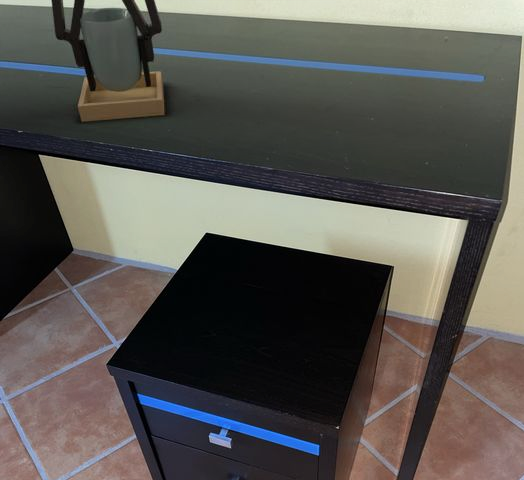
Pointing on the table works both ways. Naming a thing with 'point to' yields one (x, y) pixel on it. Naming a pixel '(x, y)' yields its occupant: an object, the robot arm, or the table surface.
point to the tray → (122, 100)
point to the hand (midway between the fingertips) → (121, 85)
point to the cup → (112, 48)
